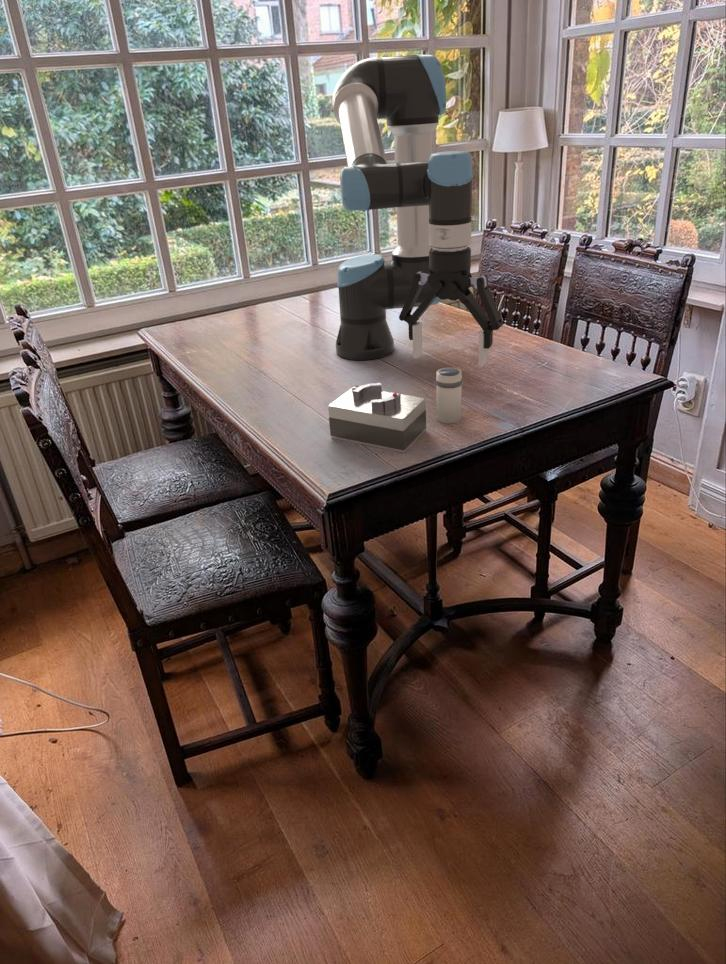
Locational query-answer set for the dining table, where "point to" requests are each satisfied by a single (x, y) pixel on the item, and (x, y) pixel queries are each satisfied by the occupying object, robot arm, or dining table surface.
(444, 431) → the dining table surface
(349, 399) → the two-tone block with arcs
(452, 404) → the lens
